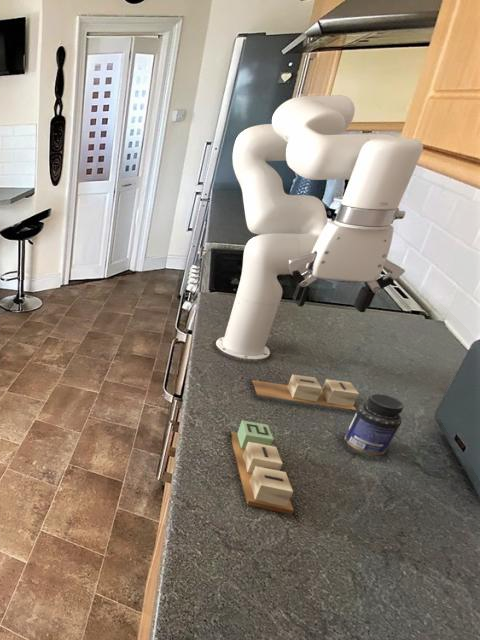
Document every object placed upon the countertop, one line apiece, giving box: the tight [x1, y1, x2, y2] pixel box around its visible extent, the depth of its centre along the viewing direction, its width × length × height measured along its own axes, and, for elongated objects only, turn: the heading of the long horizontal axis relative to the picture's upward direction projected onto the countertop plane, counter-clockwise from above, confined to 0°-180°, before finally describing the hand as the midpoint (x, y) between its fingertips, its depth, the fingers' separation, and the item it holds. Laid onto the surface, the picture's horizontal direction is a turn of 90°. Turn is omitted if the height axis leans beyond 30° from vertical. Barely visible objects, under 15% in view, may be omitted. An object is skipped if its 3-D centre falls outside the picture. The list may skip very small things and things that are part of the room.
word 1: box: [229, 431, 295, 516], centre depth 78 cm, size 18×6×5 cm, turn 160°
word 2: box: [251, 374, 360, 411], centre depth 96 cm, size 6×18×5 cm, turn 70°
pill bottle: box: [344, 393, 405, 456], centre depth 80 cm, size 6×6×11 cm
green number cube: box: [236, 419, 275, 449], centre depth 83 cm, size 4×4×4 cm
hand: (328, 306), depth 83 cm, fingers open, 9 cm apart
